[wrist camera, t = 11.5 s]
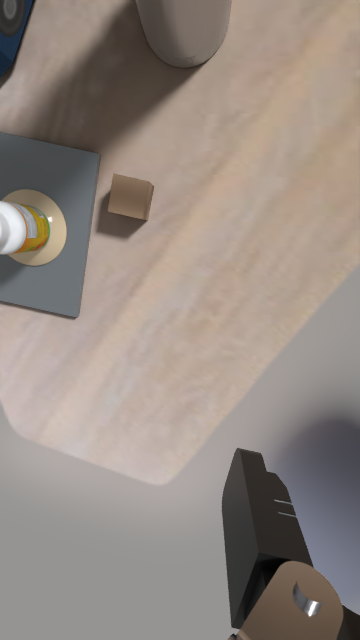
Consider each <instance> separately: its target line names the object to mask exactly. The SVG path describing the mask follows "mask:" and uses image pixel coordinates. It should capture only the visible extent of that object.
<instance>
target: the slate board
mask: <svg viewBox="0 0 360 640" xmlns="http://www.w3.org/2000/svg"><path fill="white" fill-rule="evenodd" d="M100 157H101V155H99V154H97V153H93V152H88V151H84V150H79V149H75V148H70V147H66V146H61V145H57V144H52V143H48V142H43V141H39V140H34V139H30V138H25V137H21V136H16V135H12V134H7V133H2V132H0V201H5V202H11V203H18V204H25V205H31V206H34V207H36V208H38V209H40V210H41V211H42V212H43V213H44V214H45V215H46V216H47V218H48V220H49V222H50V225H51V237H50V240H49V242H48V243H47V244H46V245H45V246H44V247H43V248H41V249H39V250H36V251H30V252H22V253H14V254H3V255H2V254H0V301H5V302H9V303H14V304H18V305H23V306H27V307H32V308H36V309H41V310H45V311H50V312H54V313H59V314H63V315H68V316H72V317H78V316H79V312H80V305H81V298H82V290H83V283H84V275H85V268H86V261H87V253H88V246H89V239H90V231H91V224H92V216H93V209H94V202H95V194H96V187H97V180H98V172H99V165H100Z"/></svg>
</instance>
